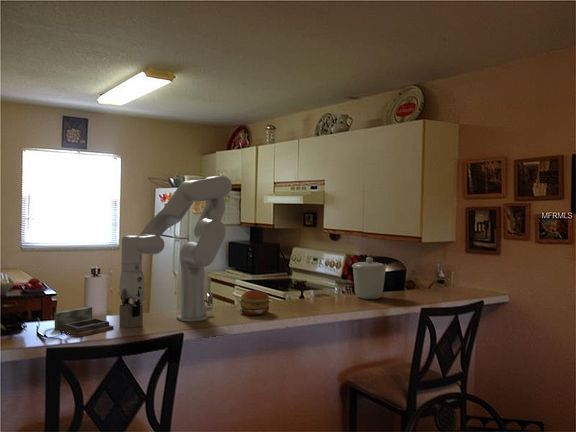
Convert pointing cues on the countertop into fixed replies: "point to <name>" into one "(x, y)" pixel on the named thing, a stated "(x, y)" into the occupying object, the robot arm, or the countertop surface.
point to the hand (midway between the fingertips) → (131, 314)
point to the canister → (369, 279)
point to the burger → (254, 303)
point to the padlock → (129, 314)
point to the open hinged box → (80, 322)
